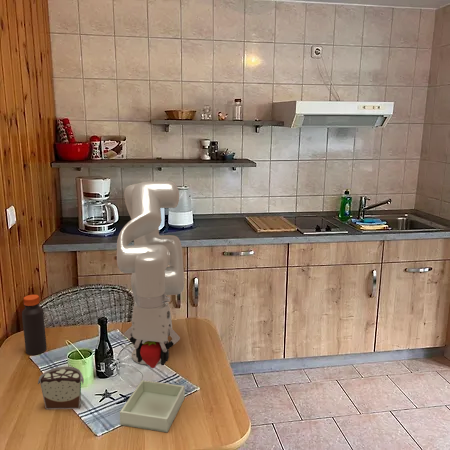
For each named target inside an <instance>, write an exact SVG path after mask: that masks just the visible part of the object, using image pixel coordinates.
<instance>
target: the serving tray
mask: <svg viewBox="0 0 450 450" xmlns="http://www.w3.org/2000/svg"><path fill="white" fill-rule="evenodd" d="M185 388H186V387H185V385H180V384H174V383H173V384H172V383H165V382H160V381H153V380H144V379H141V381H140V382H139V384H138V385H137V386H136V388H135V390H134V391H133V392H132V394H131V395H130V397H129V398H128V399H127V401H126V402H125V404H124V405H123V406H122V408H121V410H119V425H120V426H122V427H123V426H125V427H131V428H137V429H142V430H149V431H154V432H161V433H168V432H169V431H170V429H171V426H172V424H173V422H174V420H175V418H176V416H177V415H178V413H179V411H180V408H181V406H182V404H183V402H184V400H185V395H186V394H185V393H186V392H185V391H186V390H185Z"/></svg>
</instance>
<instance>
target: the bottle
mask: <svg viewBox="0 0 450 450" xmlns="http://www.w3.org/2000/svg"><path fill="white" fill-rule="evenodd" d="M23 306H24V307H25V308H24V309H23V310H22V311H21V316H22V329H23V337H24V338H23V340H24V346H25V349H24V350H25V353H26V354H27V355H31V356H37V355H40V354H42V353H44V352H46V350H47V349H48V348H47V347H48V346H47V339H46V325H45V315H44V314H45V313H44V308H43V307H41V306H40V296H39V295H38V294H29V295H26V296H23Z"/></svg>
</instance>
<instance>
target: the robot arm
mask: <svg viewBox="0 0 450 450" xmlns="http://www.w3.org/2000/svg"><path fill="white" fill-rule="evenodd" d="M123 193H124V194H123V195H124V196H123V197H124V201H125V203H124V204H125V206H126V209H127V212H128V214H129V217H130V220H129V221H128V222H127V223H126V224H125V225H124V226H123V227H122V229H121V230H120V232H119V233H118V235H117V241H116V265H117V268H118V269H119V271H120V272H121V273H123V274H131V276H130V285H131V286H130V287H131V290H132V291H131V292H132V296H133V297H132V298H133V309H132V317H131V326H130V327H129V328H127V329H126V331H125V332H124V333H123V334H124V335H123V336H125V337H126V338H127V339H128V340H129V342H130V343H131V344H132V345H133V347H134V349H133V350H132V352H131V359H132V360H133V361H134V362H136V363H137V364H140V365H147V364H146V363H145V362H144V361H143V359H142V357H141V354H140V350H141V346H142V345H143V344H144V343H145V342H146V341H153V342H159V343H160V345H161V348H162V351H161V359H160V361H159V362H158V363H157V364H159V363H160V365H161V366H165V364H166V362H168V361H169V358H170V349H171V348H173V346H174V345H175V344H177V343H178V342H179V341H180V339H181V337H180V335H178V333H177V332H176V331H175V330H174V329H173V323H172V322H173V321H172V320H173V319H172V314H171V308H170V304H169V303H170V302H171V297H170V296H174V295H175V296H176V295H180V294H182V293H183V292H184V289H185V271H184V258H183V257H184V256H183V255H184V254H183V247H182V243H181V242H182V241H181V240H180V238H179V236H176V235H173V234H171V235H170V234H169V235H161V234H160V232H159V231H160V230H159V229H160V226H161V224H162V210H161V209H175V208H176V207H178V205H179V201H180V192H179V188H178V186H177V184H176V183H175V182H173V181H165V180H163V181H162V180H161V181H160V180H159V181H158V180H157V181H156V180H155V181H141V182H139V183H133V184H130V185H127V186H126V187H125V188H124V191H123ZM132 242H133V244H132V245H129V244H130V243H132ZM168 337H170V338H171V339H170V341H169V339H168ZM147 366H148V365H147Z"/></svg>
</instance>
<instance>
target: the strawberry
mask: <svg viewBox="0 0 450 450" xmlns="http://www.w3.org/2000/svg"><path fill="white" fill-rule="evenodd" d="M161 351H162V348H161V345H160V343H159V342H153V341H146V342H145V343H144V344H143V345H142V346H141V350H140V354H141V357H142V359H143V361H144V362H145V363H146V364H147V366H149V367H150V368H151V369H155V368H156V366H157V365H158V364H159V363H158V362H159V361H160V359H161Z"/></svg>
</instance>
